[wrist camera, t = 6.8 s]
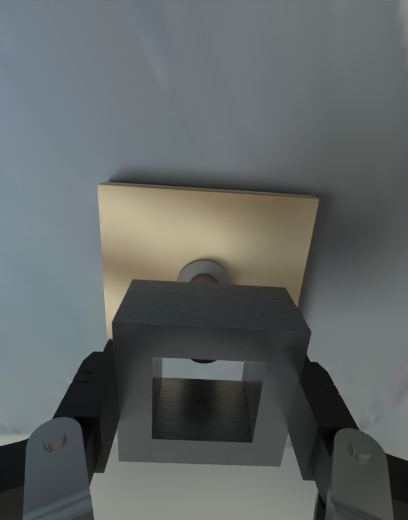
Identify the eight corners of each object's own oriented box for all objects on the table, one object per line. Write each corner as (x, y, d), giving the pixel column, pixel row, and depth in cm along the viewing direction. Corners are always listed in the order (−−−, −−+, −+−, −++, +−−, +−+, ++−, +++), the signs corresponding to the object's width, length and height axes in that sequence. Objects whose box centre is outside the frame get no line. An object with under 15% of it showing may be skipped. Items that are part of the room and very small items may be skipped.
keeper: (104, 181, 17) (43, 208, 11) (312, 195, 18) (380, 229, 11) (112, 342, 21) (72, 434, 15) (281, 349, 22) (318, 443, 15)
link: (132, 279, 12) (111, 322, 9) (285, 287, 12) (311, 331, 9) (135, 397, 14) (118, 461, 11) (264, 402, 14) (280, 466, 11)
